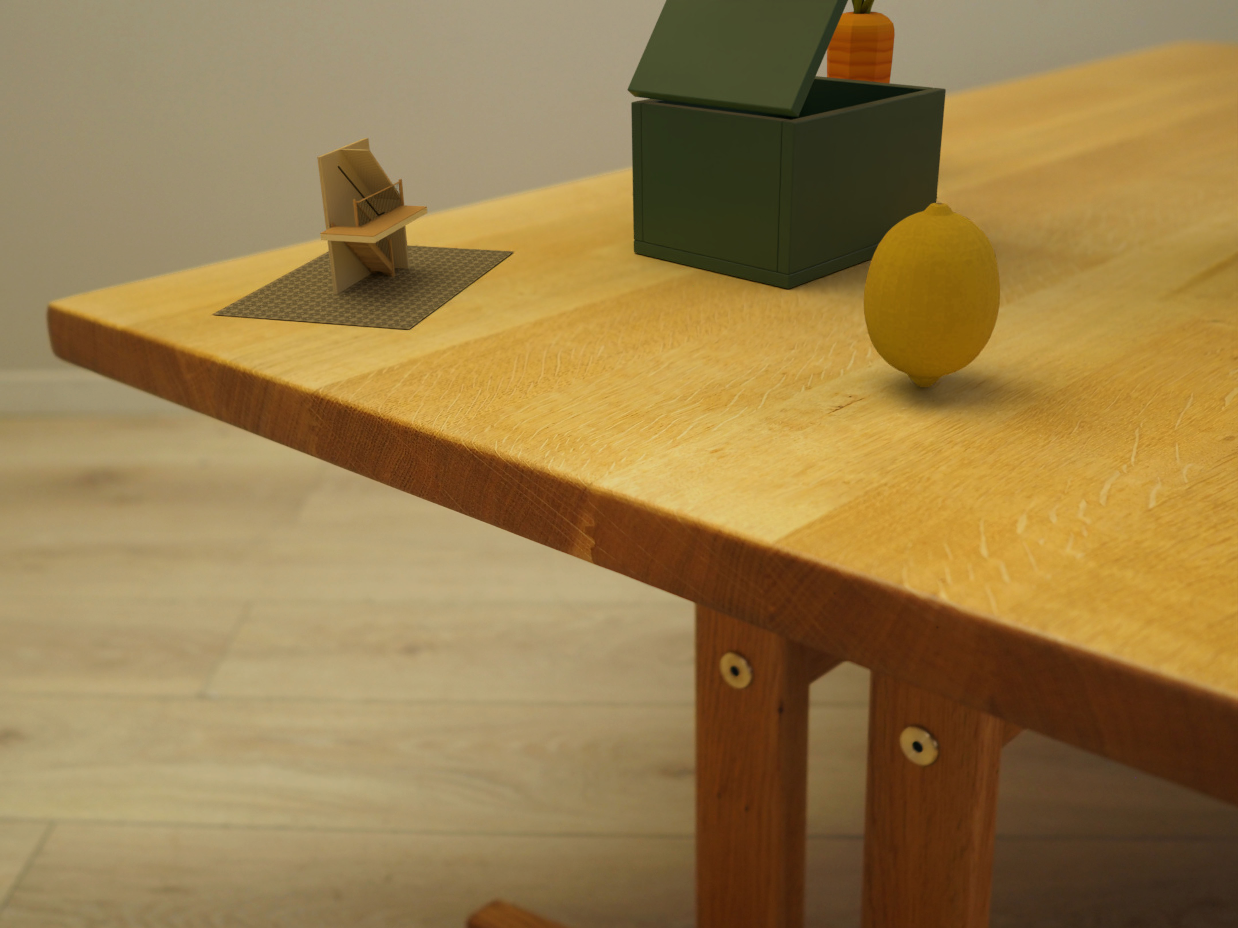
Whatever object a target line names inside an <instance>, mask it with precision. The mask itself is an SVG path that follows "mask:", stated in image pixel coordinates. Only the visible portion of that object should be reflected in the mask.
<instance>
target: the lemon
mask: <svg viewBox="0 0 1238 928" xmlns="http://www.w3.org/2000/svg"><path fill="white" fill-rule="evenodd" d="M870 260H871V261H870V264H869V267H868V270H867V275H866V278H865V284H864V292H863V314H864V321H865V325H866V329H867V334H868V337H869V340H870V342H871V344H872V346H873V348H874V349H875V351H876V352H877V353H878V355H879V356H880V357H881V358H882V359H883V360H884V361H885V362H886V363H887V364H888V365H889V366H891V367H892V368H894V369H895V370H897V371H899V372H901V373H904V374H906V375H907V376H908V377H909V379H910V380H911V381H912V382H913V383H914V384H915V385H916V386H917V387H919V388H931V387H932V386H933V385H934V384H935V383H936V382H938V381H939V380H940V379H941V378H942V377H944V376H947V375H952V374H954V373H957V372H958V371H961V370H963V369H964V368H966V367H967V366H969V365H970V364H971V363H972V362H974V360H976V359H977V358H978V356H979V355H980V354H981V353H982V351H983V350H984V349H985V347H986V346H987V344H988V342H989V340H990V339H991V337H992V335H993V332H994V329H995V327H996V323H997V320H998V316H999V311H1000V310H999V309H1000V302H1001V284H1000V283H1001V282H1000V275H999V274H1000V273H999V265H998V261H997V257H996V252H995V249H994V247H993V245H992V243H991V241H990V239H989V237H988V236H987V235H986V233H985V232H984V231H983V230H982V229H981V228H980V227H979V226H978V225H977V224H976V223H974V222H973V221H972V220H970V219H969V218H967V217H965V216H963V214H962V215H961V214H960V213H957V212H955V211H953V210H952V209H951V207H950V206H949V205H948V203H945V202H936V203H932V204H930V205H929V206H928V207H927V208H926V209H925V210H924V211H922V212H918V213H916V214H913V215H911V216H909V217H907V218H905V219H903V220H902V221H900V222H899V223H897V224H896V225H895V226H893V227H892V228H891V229H890V230H889V231H888V232H887V233H886V235H885V236H884V237H883V239H882V240H881V242H880V243H879V245H878V247H877V249H876V251H875V253H874V255H873V258H872V259H870Z"/></svg>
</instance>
